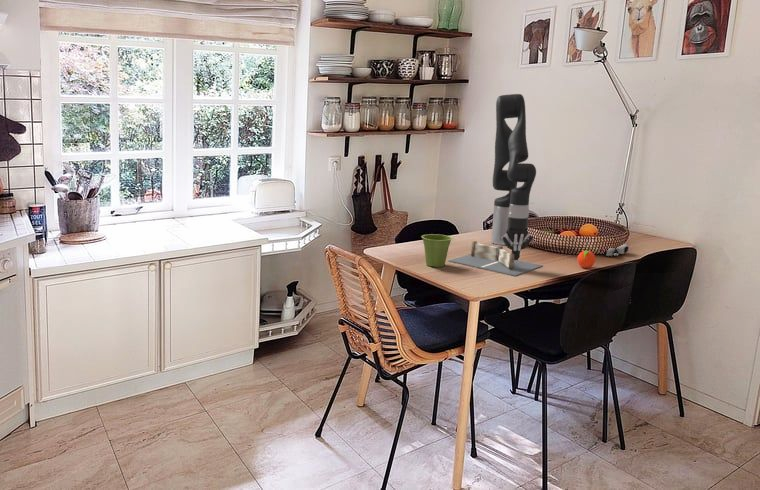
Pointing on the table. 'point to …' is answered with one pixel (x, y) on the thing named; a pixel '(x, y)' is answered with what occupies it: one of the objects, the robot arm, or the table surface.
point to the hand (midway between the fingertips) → (515, 259)
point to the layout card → (496, 265)
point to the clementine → (586, 259)
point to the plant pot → (436, 249)
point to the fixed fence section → (484, 251)
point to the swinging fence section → (505, 257)
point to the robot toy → (617, 250)
